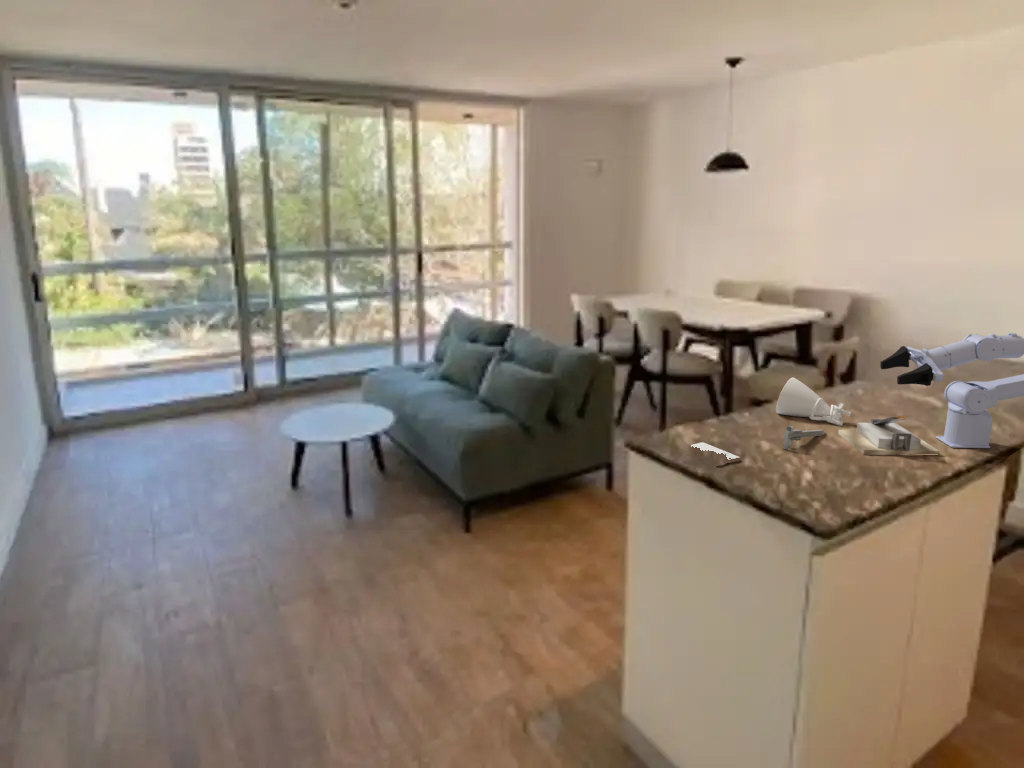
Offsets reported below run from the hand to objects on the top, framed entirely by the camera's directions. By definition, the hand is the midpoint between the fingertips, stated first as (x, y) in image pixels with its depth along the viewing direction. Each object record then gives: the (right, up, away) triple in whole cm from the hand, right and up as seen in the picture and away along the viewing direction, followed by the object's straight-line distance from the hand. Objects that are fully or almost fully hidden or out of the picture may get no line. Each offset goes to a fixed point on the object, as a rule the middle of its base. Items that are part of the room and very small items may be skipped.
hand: (889, 372), depth 175 cm
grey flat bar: (+2, -12, +2) cm, 13 cm away
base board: (+2, -18, +5) cm, 19 cm away
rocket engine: (-9, -13, +26) cm, 30 cm away
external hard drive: (-46, -21, -2) cm, 51 cm away
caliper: (-18, -18, +8) cm, 27 cm away
